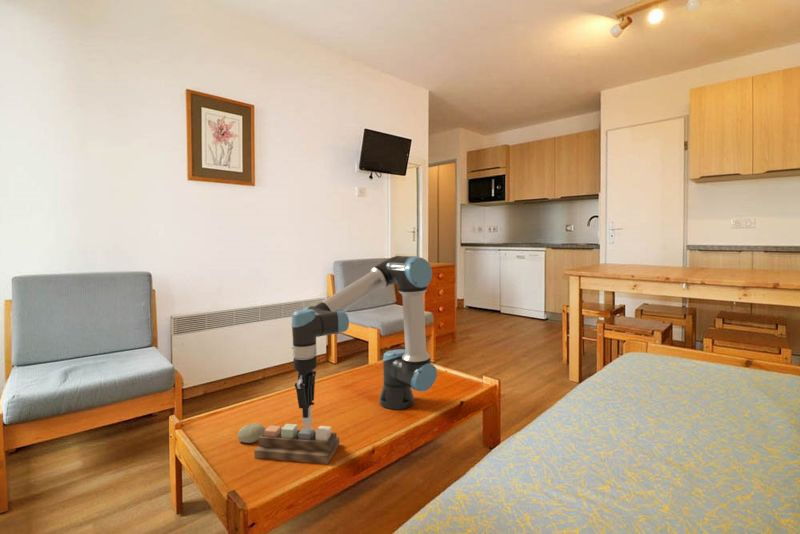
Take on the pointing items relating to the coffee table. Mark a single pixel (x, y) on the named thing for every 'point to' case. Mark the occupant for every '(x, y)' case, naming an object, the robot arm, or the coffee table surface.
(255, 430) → the sea urchin shell
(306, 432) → the slate key
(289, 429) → the sage key
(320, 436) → the ivory key
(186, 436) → the coffee table surface
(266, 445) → the brown stepped piece
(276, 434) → the terracotta key
